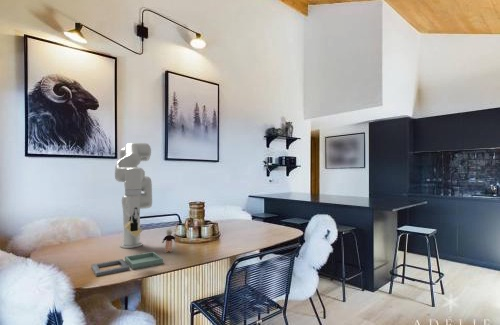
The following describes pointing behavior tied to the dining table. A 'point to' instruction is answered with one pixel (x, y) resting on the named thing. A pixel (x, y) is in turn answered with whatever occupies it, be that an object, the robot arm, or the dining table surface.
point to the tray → (143, 260)
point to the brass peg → (134, 233)
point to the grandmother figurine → (168, 241)
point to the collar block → (98, 273)
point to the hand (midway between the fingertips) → (133, 229)
